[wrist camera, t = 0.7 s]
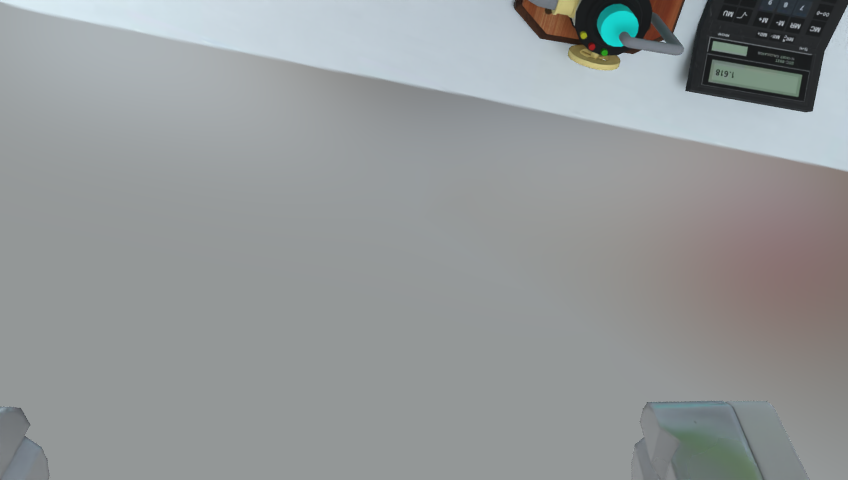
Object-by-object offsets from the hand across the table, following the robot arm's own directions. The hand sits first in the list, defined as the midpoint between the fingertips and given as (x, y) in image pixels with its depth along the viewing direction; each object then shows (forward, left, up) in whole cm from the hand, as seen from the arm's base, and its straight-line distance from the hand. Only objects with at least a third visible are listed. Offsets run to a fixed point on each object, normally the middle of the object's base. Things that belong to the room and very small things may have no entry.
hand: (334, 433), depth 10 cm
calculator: (+20, +18, -47) cm, 54 cm away
